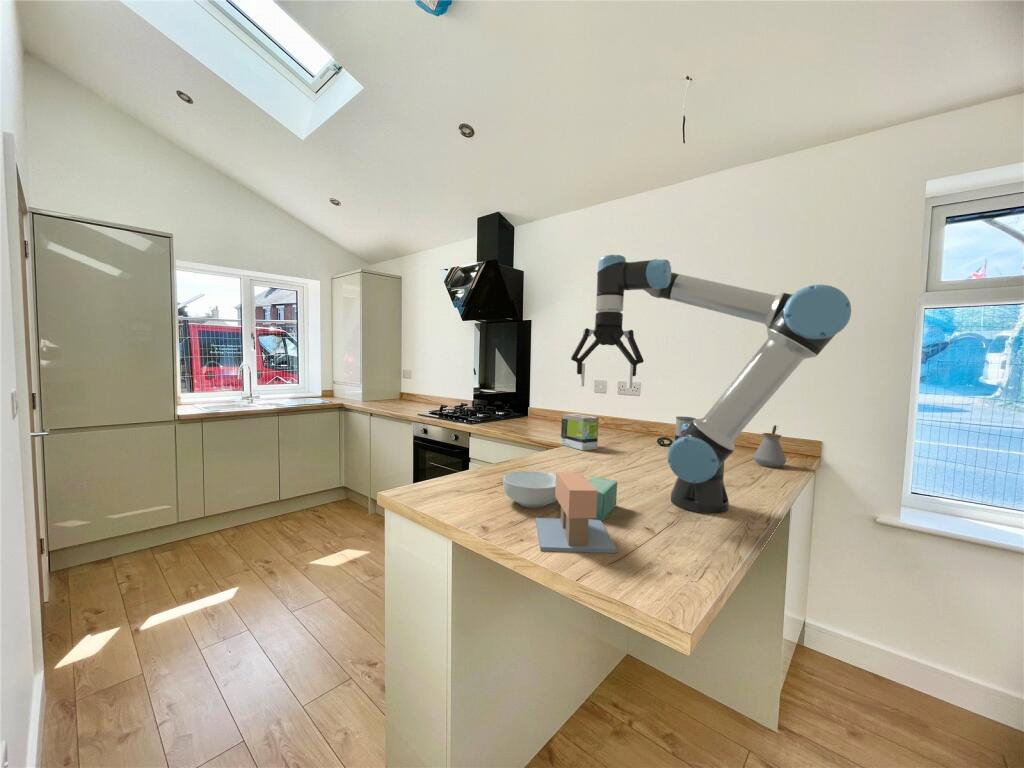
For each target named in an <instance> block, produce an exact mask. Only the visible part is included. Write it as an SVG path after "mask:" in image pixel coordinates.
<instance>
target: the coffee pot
mask: <svg viewBox="0 0 1024 768" xmlns="http://www.w3.org/2000/svg"><path fill="white" fill-rule="evenodd" d="M778 428H779V426H778V425H776V424H775V425H773V426H772V431H771V432H763V433H762V436H763V439H762V441H761V442H760V444H759V446H758V448H757V450H756V451H755V452H754V454H753V459H754V461H755V462H756V463H757V465H759V466H762V467H766V468H773V469H774V468H775V469H776V468H781V467H782V466H784V465H785V464H786V462H787V459H786V455H785V453H784V451H783V449H782V446H781V443H780V438H781V437H782V435H781V434H778V433H776V432H777V430H778Z"/></svg>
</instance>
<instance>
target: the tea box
mask: <svg viewBox="0 0 1024 768" xmlns="http://www.w3.org/2000/svg"><path fill="white" fill-rule="evenodd" d="M599 419H600V418H599V416H591V415H586V414H585V415H584V414H580V413H567V414H566V413H565V414H562V415H561V426H560V427H561V429H560V445H562V446H565V447H569V448H573V449H576V450H581V451H591V450H597V449H598V442H599V441H598V440H599V439H598V437H599Z"/></svg>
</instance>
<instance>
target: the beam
mask: <svg viewBox="0 0 1024 768" xmlns="http://www.w3.org/2000/svg"><path fill="white" fill-rule="evenodd" d="M555 475H556V488H555V497H556V499H557V500H556V501H558V503H559V505H560V508H561V507H562V509H563V510H564V512H565V514H566V515H567V517H568V518H589V519H593V518H596V512H597V492H598V490H597V489H596V488H595V487H594V486H593V485H592V484H591V483H590V482H589V481H588V480H589V479H587V478H586V477H585V476H584V475H583V473H581V472H580V471H579V472H573V471H565V472H563V471H556V472H555Z"/></svg>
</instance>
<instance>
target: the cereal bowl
mask: <svg viewBox="0 0 1024 768" xmlns="http://www.w3.org/2000/svg"><path fill="white" fill-rule="evenodd" d="M502 481H503V482H502V484H503V486H502V487H503V490H504V492H505V494H506V495H507V497H508V498H509V499H511V501H513V502H516V503H518V505H520V506H522V507H525V508H532V509H534V508H543V507H545V506H548V505H550V504H553V503H555V502H556V501H558V500H557V499H556V497H555V488H556V474H553V473H550V472H544V471H535V470H518V471H517V470H516V471H512V472H509V473H506V474H505V475H504V476H503V480H502Z"/></svg>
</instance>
